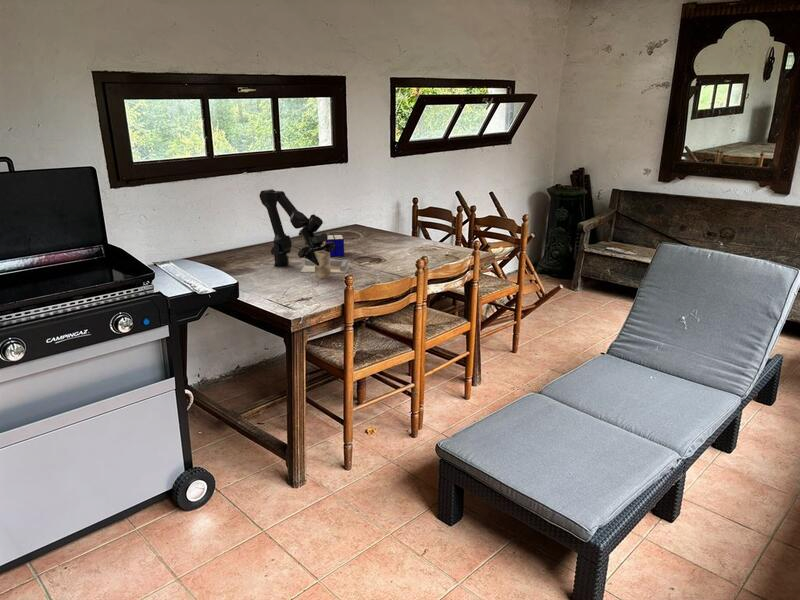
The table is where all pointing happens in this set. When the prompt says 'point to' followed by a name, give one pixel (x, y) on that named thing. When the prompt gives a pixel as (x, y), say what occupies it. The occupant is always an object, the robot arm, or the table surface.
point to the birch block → (322, 264)
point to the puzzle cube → (336, 245)
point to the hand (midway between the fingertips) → (324, 264)
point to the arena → (335, 266)
